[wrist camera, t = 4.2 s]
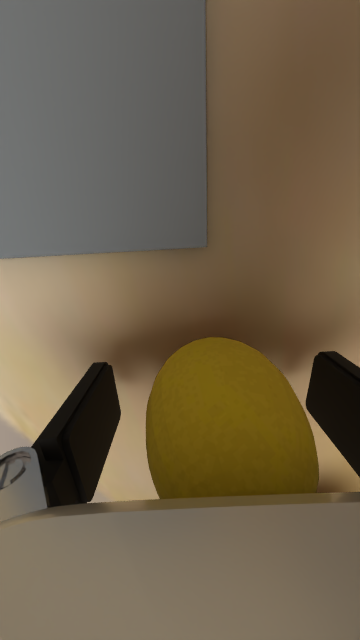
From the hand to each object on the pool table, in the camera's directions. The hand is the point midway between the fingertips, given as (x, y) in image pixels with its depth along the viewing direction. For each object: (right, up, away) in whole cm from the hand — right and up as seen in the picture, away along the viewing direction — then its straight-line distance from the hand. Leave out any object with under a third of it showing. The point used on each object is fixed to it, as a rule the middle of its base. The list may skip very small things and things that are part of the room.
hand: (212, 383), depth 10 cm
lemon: (0, +1, +2) cm, 2 cm away
